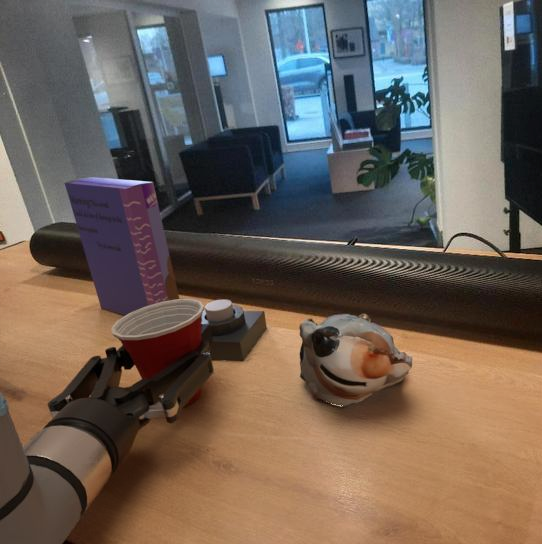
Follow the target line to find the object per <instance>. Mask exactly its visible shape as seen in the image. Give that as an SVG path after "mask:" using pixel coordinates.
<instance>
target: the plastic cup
mask: <svg viewBox="0 0 542 544" xmlns="http://www.w3.org/2000/svg"><path fill="white" fill-rule="evenodd" d="M203 310H205V305H204V303H203V302H202V301H201V300H197V299H194V298H179V299H176V300H170V301H164V302H160V303H156V304H153V305H149V306H146V307H143V308H141V309H138V310H136V311H133V312H131V313H129V314H127V315H126V316H122V317H121V318H119V319H117V320H116V321H115V323H114V324H113V325H112V326H111V327H110V330H111V334H112V336H113V337H114V338H117V340H119V341H120V342H121V344H122V345H124V347H125V348H126V350H127V352H129V354H130V356H131V358H132V360H133V362H134V364H135V365H134V367H135V368H136V370H137V372H138V374H139V376H140V377H141V379H143V378H147V379H149V378H151V377H152V376H154V375H155V374H157V373H158V372H160V371H161V370H163V369H164V368H166V367H167V366H169V365H170V364H172V363H173V362H175V361H176V360H178V359H179V358H181V357H182V356H184V355H185V354H187V353H188V352H190V351H194V350H196V349H197V348H198V347H199V345H200V343H201V330H202V326H201V323H202V313H203ZM122 345H121V346H122ZM202 388H203V386H202V387H201V388H200V389H199V390H198V391H197V392H196V393H195V394H194V396H193V397H192V398H191V399H190V400H189V401H188V402H187V404H186V405H185V406H184V407H187V406H189V405H191V404H192V403H195V401H196V400H198V398H200V397H201V393H202Z"/></svg>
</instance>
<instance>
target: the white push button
mask: <svg viewBox="0 0 542 544" xmlns="http://www.w3.org/2000/svg"><path fill="white" fill-rule="evenodd" d="M232 305H233V302H232V301H231V300H230V299H225V298H224V299H222V298H221V299H216V300H212V301H209V302H207V304H205V305H204V310H205V311H206V316H207V320H208V321H212V322H218V321H223V320H227V319H229V318H231V317H233V316H234V312H233V306H232Z"/></svg>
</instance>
